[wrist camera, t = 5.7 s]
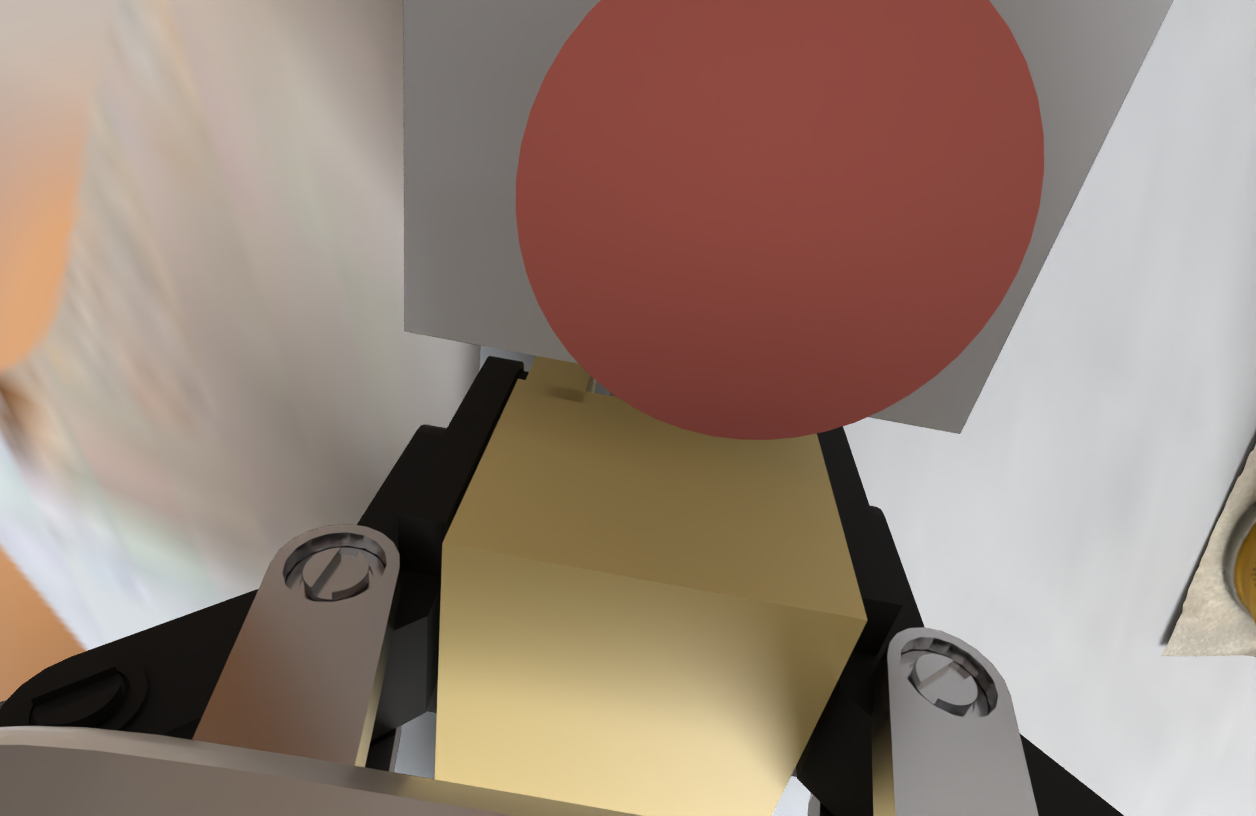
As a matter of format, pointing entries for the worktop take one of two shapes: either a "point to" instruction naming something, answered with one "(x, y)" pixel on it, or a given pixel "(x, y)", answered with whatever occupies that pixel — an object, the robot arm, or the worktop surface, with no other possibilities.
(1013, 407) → the worktop surface
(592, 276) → the plunger
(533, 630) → the carriage
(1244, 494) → the condiment
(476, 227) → the rail
